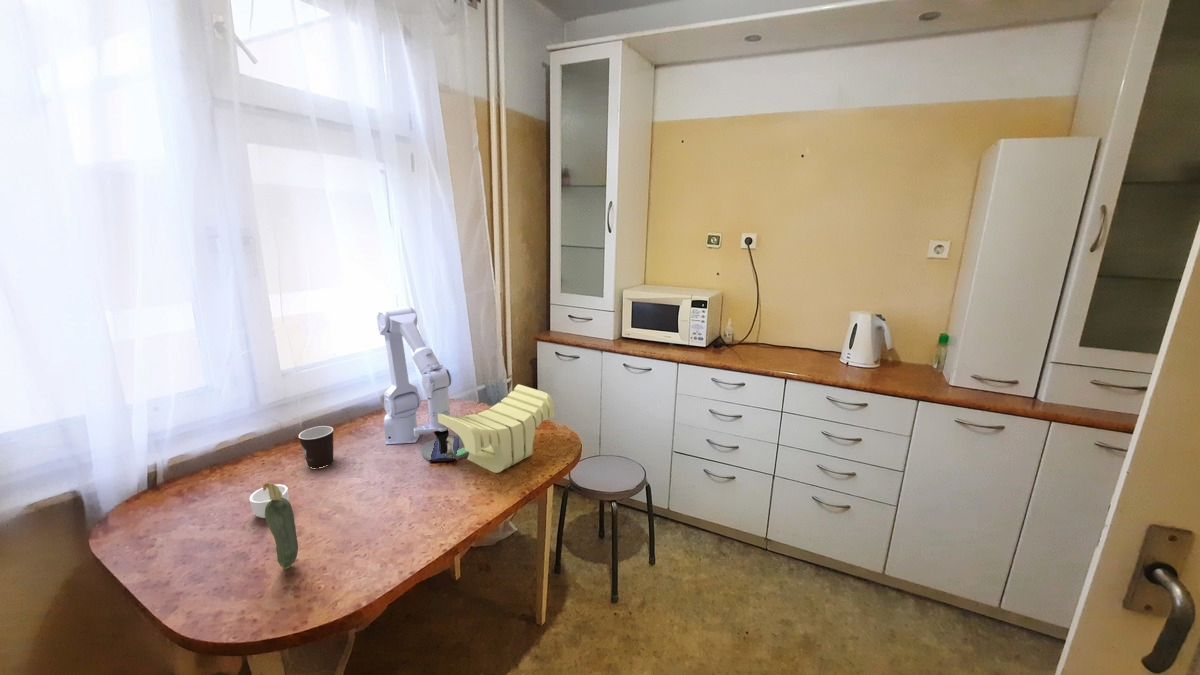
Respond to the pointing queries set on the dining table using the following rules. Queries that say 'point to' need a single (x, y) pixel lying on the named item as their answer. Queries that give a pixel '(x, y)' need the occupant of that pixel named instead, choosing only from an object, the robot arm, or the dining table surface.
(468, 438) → the slatted curved stool
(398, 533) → the dining table surface
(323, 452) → the coffee mug
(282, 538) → the vegetable
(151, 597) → the dining table surface
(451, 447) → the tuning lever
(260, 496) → the teacup
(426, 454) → the dial plate
